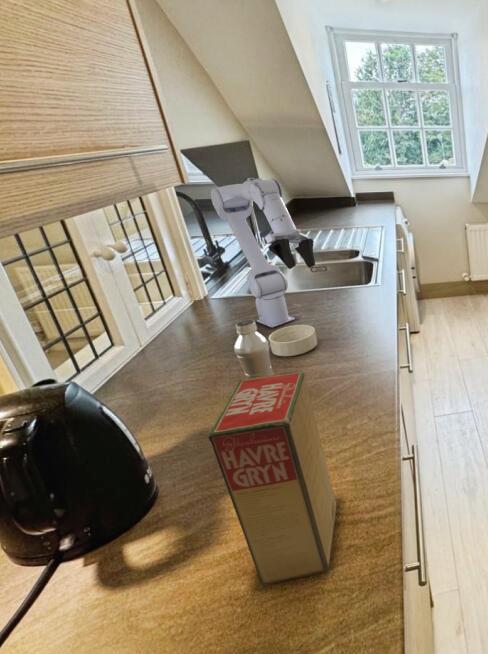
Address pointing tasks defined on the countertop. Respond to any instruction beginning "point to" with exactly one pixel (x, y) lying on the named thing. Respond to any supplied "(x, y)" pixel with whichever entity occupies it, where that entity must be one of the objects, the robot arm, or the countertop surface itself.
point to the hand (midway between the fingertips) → (302, 266)
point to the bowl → (293, 340)
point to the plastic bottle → (252, 350)
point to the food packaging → (277, 476)
